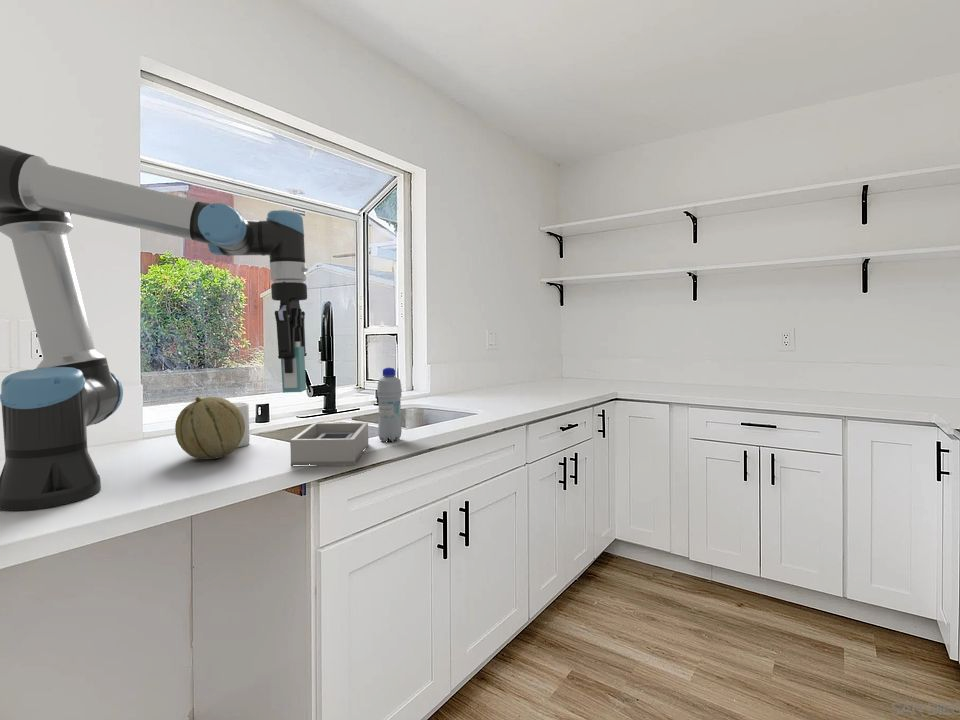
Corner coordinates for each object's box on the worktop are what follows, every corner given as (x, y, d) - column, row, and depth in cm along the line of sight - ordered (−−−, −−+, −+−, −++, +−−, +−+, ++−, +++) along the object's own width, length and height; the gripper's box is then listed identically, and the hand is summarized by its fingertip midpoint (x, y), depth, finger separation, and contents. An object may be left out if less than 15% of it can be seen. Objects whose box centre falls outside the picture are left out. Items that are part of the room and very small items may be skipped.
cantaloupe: (259, 453, 129) (257, 393, 128) (210, 469, 115) (207, 401, 114) (213, 448, 134) (211, 390, 133) (160, 463, 120) (158, 398, 119)
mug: (194, 447, 135) (192, 406, 134) (241, 440, 143) (240, 401, 143) (206, 453, 129) (204, 410, 128) (255, 445, 138) (254, 404, 137)
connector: (300, 392, 117) (298, 342, 116) (282, 392, 117) (280, 342, 116) (306, 389, 121) (303, 341, 120) (288, 390, 121) (286, 341, 120)
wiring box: (354, 465, 118) (353, 439, 117) (290, 466, 117) (290, 440, 117) (368, 445, 138) (368, 422, 137) (314, 445, 137) (313, 423, 136)
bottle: (372, 442, 141) (371, 368, 140) (385, 436, 148) (384, 366, 146) (395, 443, 139) (394, 368, 138) (406, 438, 145) (405, 366, 144)
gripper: (293, 279, 109) (299, 390, 111) (316, 284, 126) (321, 381, 128) (256, 280, 109) (263, 391, 110) (284, 285, 126) (290, 382, 127)
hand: (294, 386), depth 119 cm, fingers closed on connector, 4 cm apart
